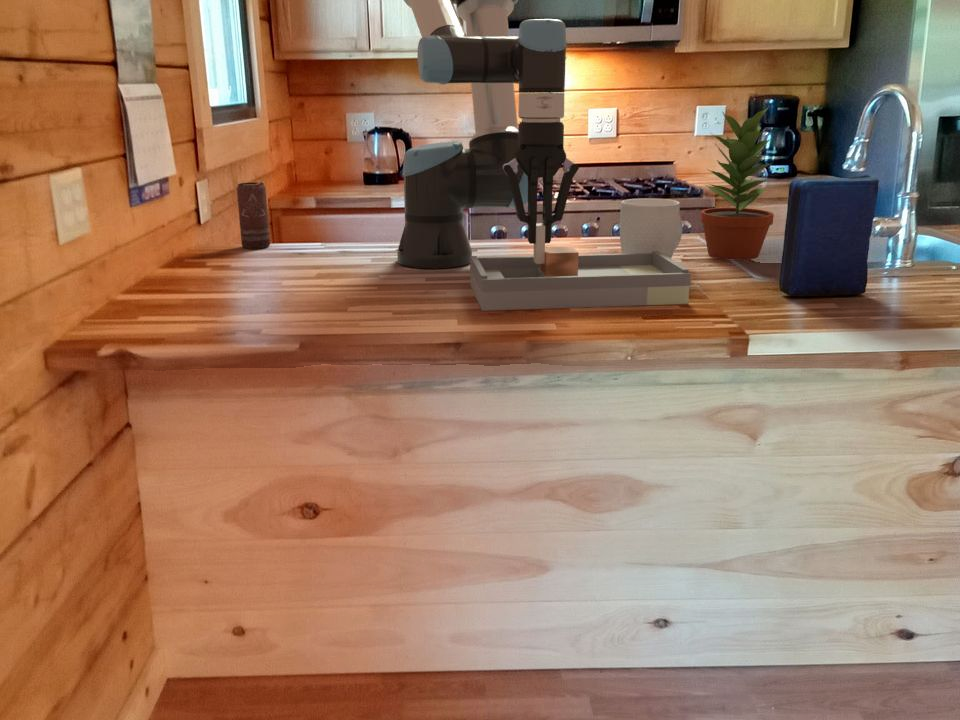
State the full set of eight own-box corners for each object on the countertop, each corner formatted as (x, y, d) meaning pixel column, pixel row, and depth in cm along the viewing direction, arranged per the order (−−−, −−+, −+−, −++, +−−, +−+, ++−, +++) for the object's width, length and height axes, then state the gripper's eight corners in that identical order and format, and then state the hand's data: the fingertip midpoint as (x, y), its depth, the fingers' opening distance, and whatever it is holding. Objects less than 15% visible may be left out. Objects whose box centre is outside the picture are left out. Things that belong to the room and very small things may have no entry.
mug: (655, 259, 174) (659, 194, 170) (700, 267, 166) (705, 200, 162) (605, 269, 165) (608, 201, 161) (650, 278, 157) (654, 207, 153)
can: (277, 246, 190) (271, 182, 186) (255, 250, 185) (250, 185, 181) (257, 243, 193) (252, 181, 189) (236, 247, 188) (230, 183, 184)
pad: (646, 305, 138) (647, 287, 137) (617, 280, 155) (617, 264, 154) (688, 303, 139) (689, 285, 138) (654, 279, 156) (655, 263, 155)
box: (482, 310, 135) (481, 276, 134) (470, 285, 152) (470, 255, 151) (688, 303, 139) (690, 270, 137) (654, 279, 156) (656, 250, 154)
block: (546, 276, 145) (546, 253, 144) (540, 269, 150) (540, 247, 149) (577, 275, 146) (578, 252, 145) (570, 268, 151) (571, 246, 150)
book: (854, 290, 147) (869, 173, 141) (870, 298, 142) (888, 176, 136) (774, 293, 145) (787, 174, 139) (788, 301, 140) (802, 178, 134)
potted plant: (681, 251, 182) (691, 105, 172) (740, 246, 187) (753, 104, 177) (723, 264, 168) (736, 107, 159) (785, 259, 173) (802, 105, 164)
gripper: (504, 121, 136) (504, 267, 143) (585, 120, 137) (580, 265, 144) (499, 120, 143) (498, 258, 150) (575, 119, 144) (571, 257, 151)
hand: (539, 261), depth 147 cm, fingers closed
